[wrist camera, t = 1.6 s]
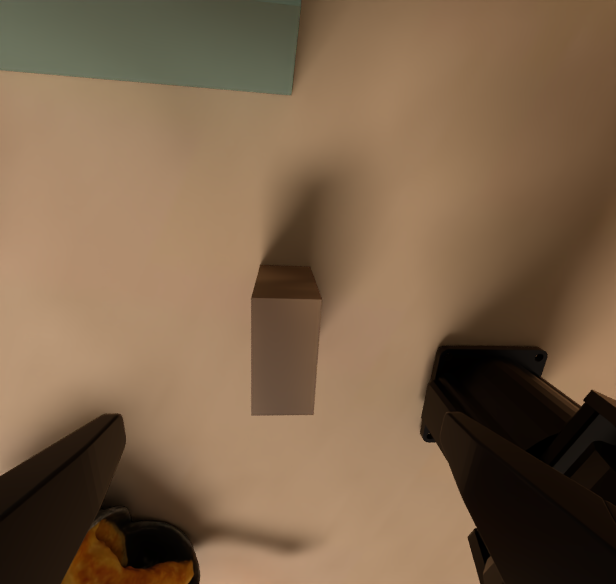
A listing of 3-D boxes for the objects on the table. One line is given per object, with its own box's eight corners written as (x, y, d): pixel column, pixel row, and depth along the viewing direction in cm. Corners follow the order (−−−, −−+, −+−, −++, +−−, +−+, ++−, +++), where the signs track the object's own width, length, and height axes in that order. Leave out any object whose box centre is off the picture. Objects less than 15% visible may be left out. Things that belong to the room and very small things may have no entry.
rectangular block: (309, 266, 16) (321, 299, 11) (304, 353, 18) (313, 414, 13) (260, 264, 16) (251, 297, 11) (259, 353, 17) (251, 415, 13)
